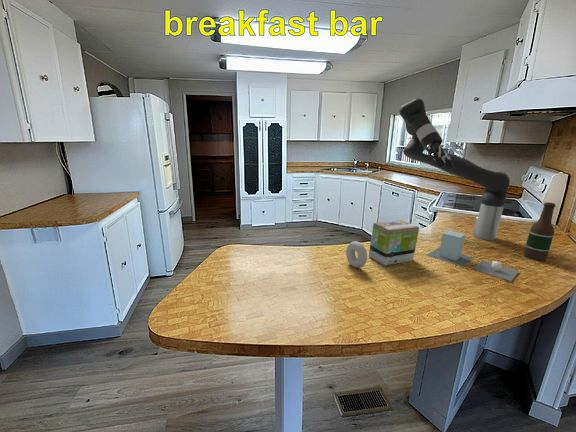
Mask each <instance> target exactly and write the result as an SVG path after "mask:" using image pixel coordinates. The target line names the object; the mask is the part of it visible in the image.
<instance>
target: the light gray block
mask: <svg viewBox="0 0 576 432" xmlns="http://www.w3.org/2000/svg"><path fill="white" fill-rule="evenodd" d="M466 235H467V234H466V233H462V232H457V231H453V230H450V229H449V230H447V231H445V232H443V233H442V238H441V241H440V247H439V248H440V252H439V256H441V257H444V258H447V259H450V260H454V261H456V260H457V259H459V258H460V257H461V254H463V251H464V250H463V249H464V245H465V240H466Z"/></svg>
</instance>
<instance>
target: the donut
mask: <svg viewBox="0 0 576 432" xmlns="http://www.w3.org/2000/svg"><path fill="white" fill-rule="evenodd" d="M345 251H346V252H345V254H346V259H347V262H348V263H349V265H351V266H352V267H353V268H355V269H361V268H363V267H365V265H366V264H367V261H368V253H367V249H366V248H365V246H364V244H362V243H361V242H360V241H357V240H355V241H354V240H353V241H351V242H349V244H348V245H347V247H346V250H345ZM356 253H357V256H356Z"/></svg>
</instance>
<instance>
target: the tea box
mask: <svg viewBox="0 0 576 432" xmlns="http://www.w3.org/2000/svg"><path fill="white" fill-rule="evenodd" d="M419 232H420V227H419V226H418V225H415V224H413V223H409V222H407V221H404V220H402V219H400V220H399V219H398V220H390V221H382V222H381V221H380V222H373V225H372V231H371V238H370V244H369V245H370V246H369V250H368V257H369V258H371V259H372V260H374V261H376V262H378V263H379V264H381V265H382V266H385V267H386V266H390V265H395V264H400V263H405V262H409V261H413V260H414V257H415V253H416V246H417V241H418V236H419Z"/></svg>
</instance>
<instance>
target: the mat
mask: <svg viewBox="0 0 576 432" xmlns="http://www.w3.org/2000/svg"><path fill="white" fill-rule="evenodd" d="M439 252H440V247H438V248H436V249H434V250H432V251H431V252H428V253H426V254H425V257H430V258H433V259H436V260H440V261H442V262H445V263H448V264H452V265H456V266H459V267H461V268H463V267H464V266H466V265H467V264H468V263H470V262H471V261H472V260H474V257H473V256H469V255H465V254H463V253H462V254H461V257H460V258H459V259H457V260H456V261H454V260H450V259H447V258H444V257H441V256H439Z"/></svg>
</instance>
